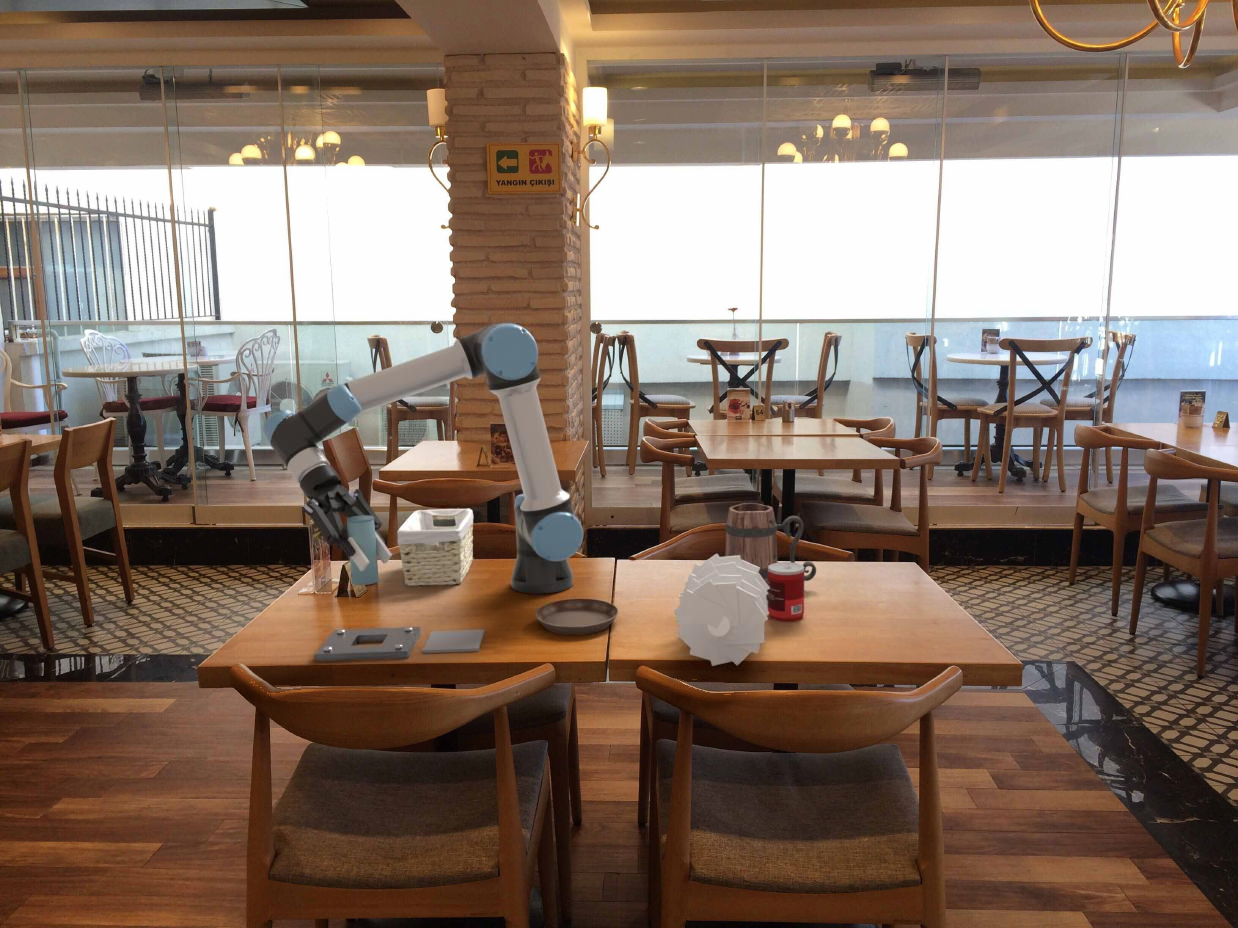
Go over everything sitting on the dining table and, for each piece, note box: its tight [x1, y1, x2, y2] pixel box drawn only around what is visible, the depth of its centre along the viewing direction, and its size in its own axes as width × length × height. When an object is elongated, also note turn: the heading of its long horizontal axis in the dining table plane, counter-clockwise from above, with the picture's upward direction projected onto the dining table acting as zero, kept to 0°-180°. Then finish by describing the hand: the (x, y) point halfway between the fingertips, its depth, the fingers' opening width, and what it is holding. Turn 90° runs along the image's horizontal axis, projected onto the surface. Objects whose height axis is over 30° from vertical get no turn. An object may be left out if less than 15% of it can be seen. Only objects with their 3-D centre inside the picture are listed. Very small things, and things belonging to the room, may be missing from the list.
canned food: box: [767, 561, 805, 623], centre depth 202 cm, size 8×8×11 cm
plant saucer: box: [535, 597, 619, 636], centre depth 202 cm, size 18×18×3 cm
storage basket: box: [396, 507, 475, 587], centre depth 242 cm, size 24×16×15 cm
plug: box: [346, 515, 380, 586], centre depth 188 cm, size 5×5×13 cm
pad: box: [422, 629, 485, 654], centre depth 192 cm, size 11×11×1 cm
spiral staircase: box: [673, 553, 770, 667], centre depth 183 cm, size 18×18×25 cm
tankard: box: [724, 502, 817, 601], centre depth 220 cm, size 24×17×20 cm
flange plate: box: [314, 626, 422, 662], centre depth 191 cm, size 18×14×2 cm
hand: (376, 562), depth 186 cm, fingers closed on plug, 5 cm apart
